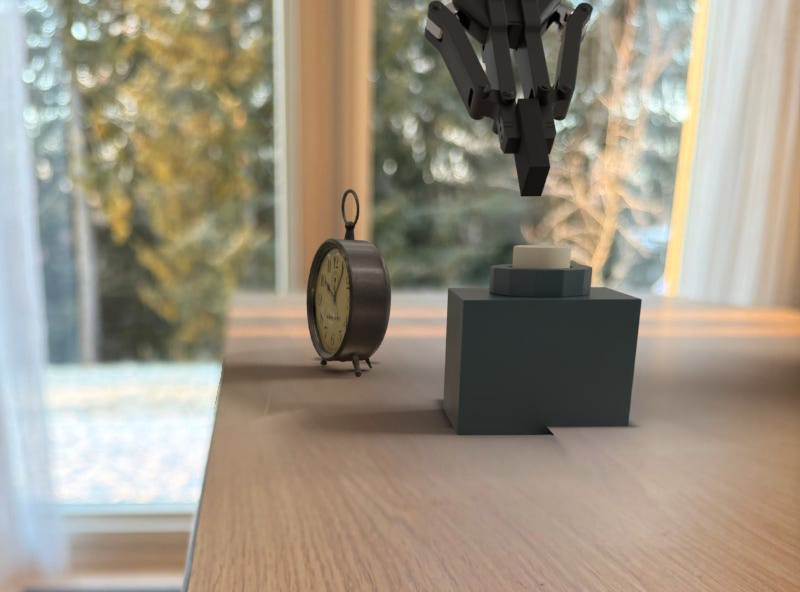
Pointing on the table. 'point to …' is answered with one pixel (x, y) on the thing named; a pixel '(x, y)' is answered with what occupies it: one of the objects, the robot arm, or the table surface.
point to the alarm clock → (348, 297)
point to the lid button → (541, 256)
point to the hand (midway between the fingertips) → (535, 181)
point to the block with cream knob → (539, 353)
